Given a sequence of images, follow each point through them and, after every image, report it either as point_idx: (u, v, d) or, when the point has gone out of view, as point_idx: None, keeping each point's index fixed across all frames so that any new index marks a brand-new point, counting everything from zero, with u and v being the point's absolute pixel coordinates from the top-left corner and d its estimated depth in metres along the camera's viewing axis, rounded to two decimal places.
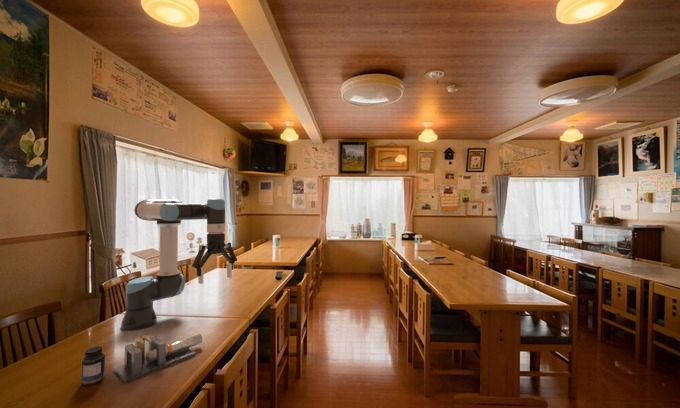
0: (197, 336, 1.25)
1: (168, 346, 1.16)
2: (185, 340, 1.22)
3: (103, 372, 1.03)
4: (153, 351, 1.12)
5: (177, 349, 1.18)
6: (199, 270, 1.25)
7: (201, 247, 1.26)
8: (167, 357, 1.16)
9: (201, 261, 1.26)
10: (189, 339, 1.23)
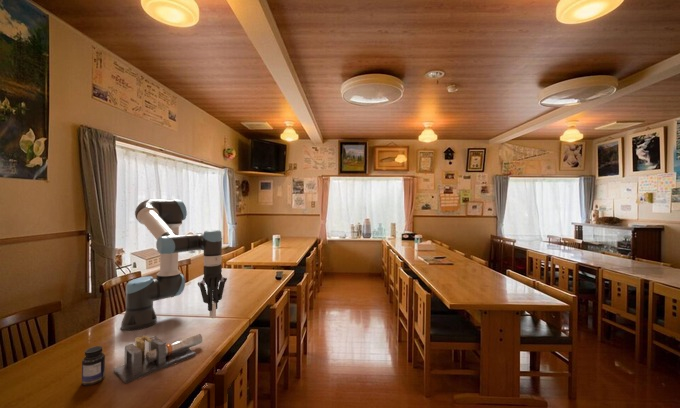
0: (197, 336, 1.25)
1: (168, 346, 1.16)
2: (185, 340, 1.22)
3: (103, 372, 1.03)
4: (153, 351, 1.12)
5: (177, 349, 1.18)
6: (210, 305, 1.30)
7: (200, 285, 1.27)
8: (167, 357, 1.16)
9: (208, 296, 1.30)
10: (189, 339, 1.23)
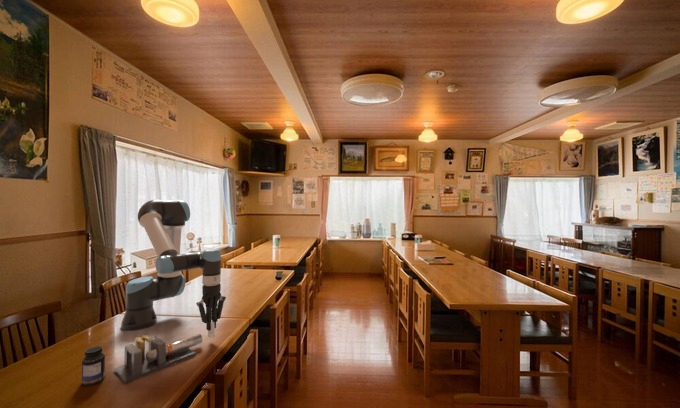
0: (197, 336, 1.25)
1: (168, 346, 1.16)
2: (185, 340, 1.22)
3: (103, 372, 1.03)
4: (153, 351, 1.12)
5: (177, 349, 1.18)
6: (209, 325, 1.30)
7: (198, 305, 1.26)
8: (167, 357, 1.16)
9: (207, 316, 1.30)
10: (189, 339, 1.23)
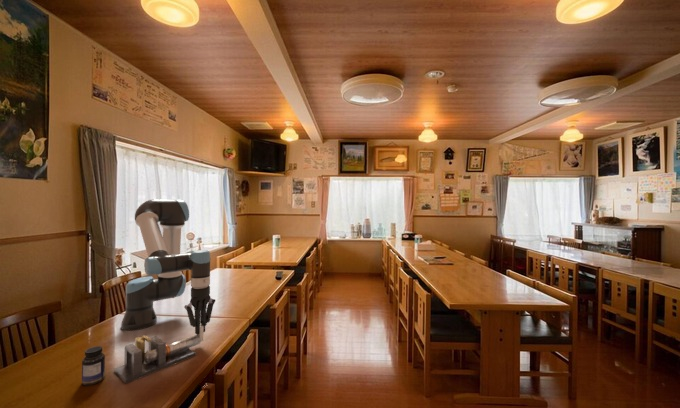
0: (195, 337, 1.25)
1: (166, 347, 1.16)
2: (183, 341, 1.21)
3: (103, 372, 1.03)
4: (151, 352, 1.12)
5: (175, 350, 1.17)
6: (198, 328, 1.26)
7: (186, 309, 1.22)
8: (167, 357, 1.16)
9: (196, 320, 1.26)
10: (187, 340, 1.22)
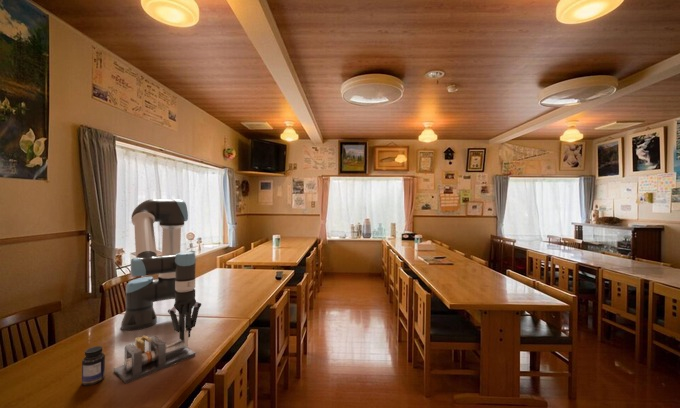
0: (180, 342, 1.20)
1: (148, 353, 1.10)
2: (166, 347, 1.16)
3: (103, 372, 1.03)
4: (131, 359, 1.06)
5: None
6: (182, 333, 1.21)
7: (170, 313, 1.17)
8: (167, 357, 1.16)
9: (180, 324, 1.21)
10: (171, 345, 1.17)
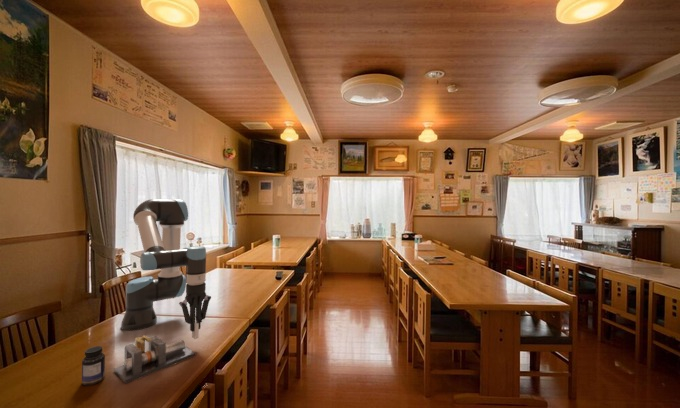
0: (180, 342, 1.20)
1: (148, 353, 1.10)
2: (166, 347, 1.16)
3: (103, 372, 1.03)
4: (131, 359, 1.06)
5: None
6: (193, 325, 1.24)
7: (181, 305, 1.21)
8: (167, 357, 1.16)
9: (191, 316, 1.24)
10: (171, 345, 1.17)
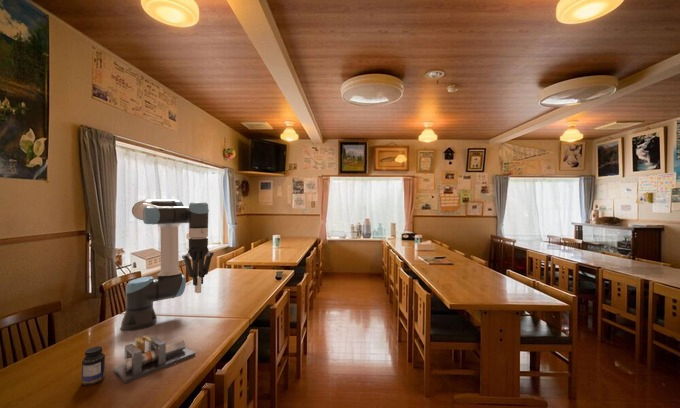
0: (180, 342, 1.20)
1: (148, 353, 1.10)
2: (166, 347, 1.16)
3: (103, 372, 1.03)
4: (131, 359, 1.06)
5: None
6: (195, 279, 1.25)
7: (184, 258, 1.22)
8: (167, 357, 1.16)
9: (193, 270, 1.25)
10: (171, 345, 1.17)
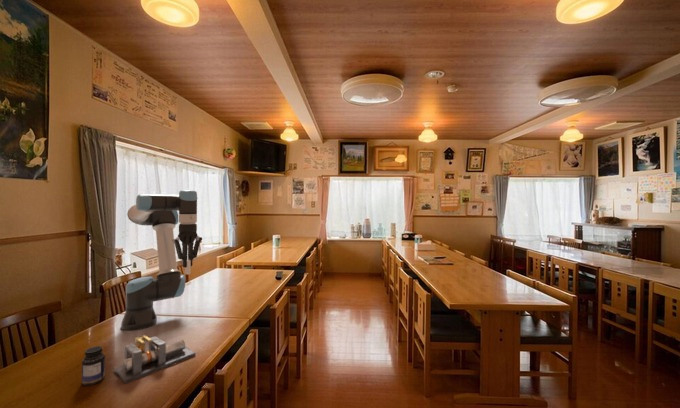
0: (180, 342, 1.20)
1: (148, 353, 1.10)
2: (166, 347, 1.16)
3: (103, 372, 1.03)
4: (131, 359, 1.06)
5: None
6: (185, 262, 1.35)
7: (174, 242, 1.32)
8: (167, 357, 1.16)
9: (183, 253, 1.35)
10: (171, 345, 1.17)
